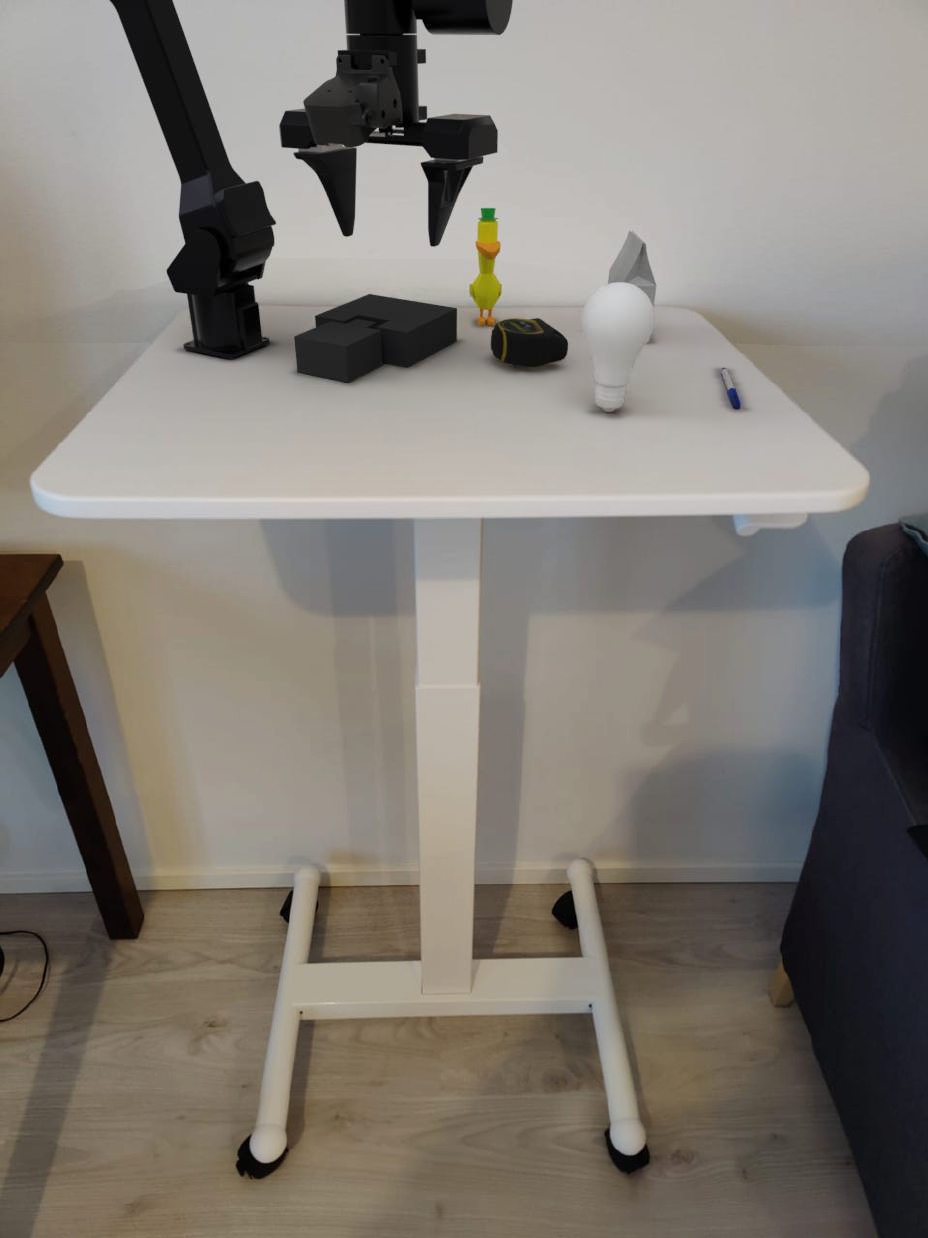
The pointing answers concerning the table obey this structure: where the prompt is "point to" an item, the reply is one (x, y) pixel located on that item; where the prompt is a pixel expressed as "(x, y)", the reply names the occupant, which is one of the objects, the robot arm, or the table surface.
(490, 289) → the toy figure
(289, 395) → the table surface
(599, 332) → the lightbulb
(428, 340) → the notch pad
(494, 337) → the tape measure
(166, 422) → the table surface
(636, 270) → the grey faceted shape
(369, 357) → the pad
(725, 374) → the blue marker pen
